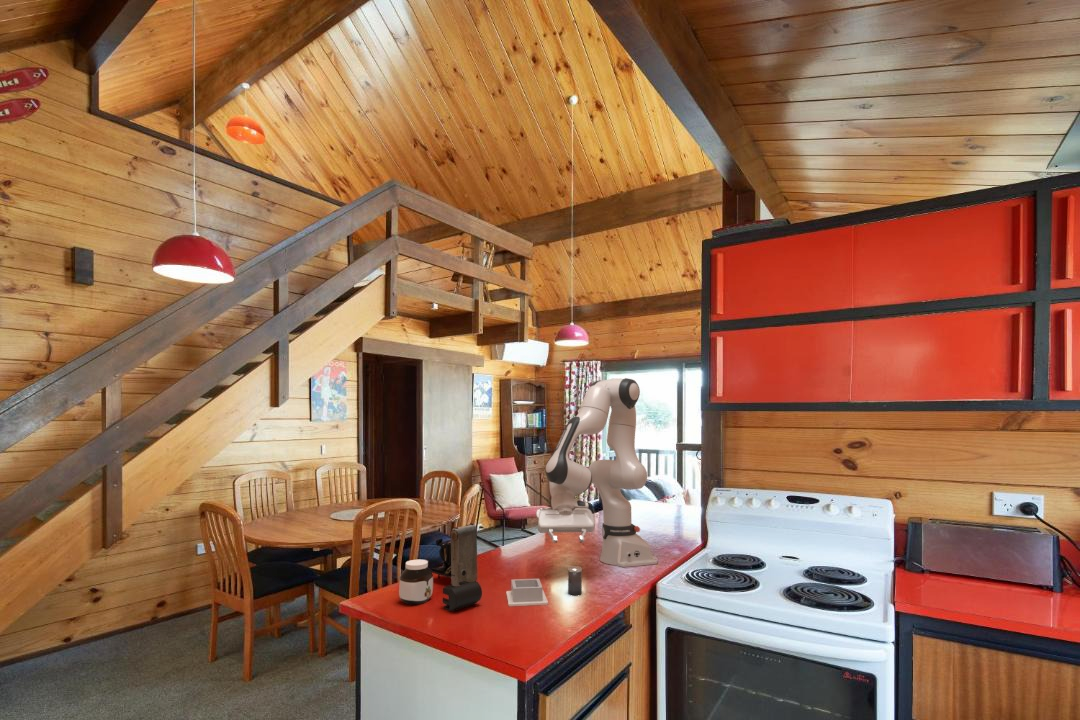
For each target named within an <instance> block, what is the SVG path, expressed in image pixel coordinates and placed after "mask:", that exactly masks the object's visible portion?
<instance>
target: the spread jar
mask: <svg viewBox="0 0 1080 720" xmlns="http://www.w3.org/2000/svg"><path fill="white" fill-rule="evenodd" d="M428 566H429V560H427V559H411V560H407V561H406V562H405V569H403V571H402V573H401V575H400V577H399V586H398V596H399V599H400V600H401V601H402V602H403V603H405V604H406V605H410V606H416V605H422V604H423V605H424V604H425V603H427V602H428V600H430V598H431V596H432V595H433V590H434V573H432V572H431V570H432V569H430V568H429V567H428Z"/></svg>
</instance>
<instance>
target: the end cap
mask: <svg viewBox="0 0 1080 720" xmlns="http://www.w3.org/2000/svg"><path fill="white" fill-rule="evenodd" d="M459 585H460V586H453V585H452V584H449V585H445V586H444V587H443V588H442V594H443V595H445V596H448V598H445V597H442V604H444V605H443V606H442V607H443V608H442V609H443V610H446V611H448V612H455V611H459V610H462V609H465V608H468V607H470V606H473V605H476V604H477V603H478V602H479V601H481V600H482V596H483V590H482V586H481V584H480V583H479V582H478V581H477V580H476V581H473V582H467V581H463V582H459Z"/></svg>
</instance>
